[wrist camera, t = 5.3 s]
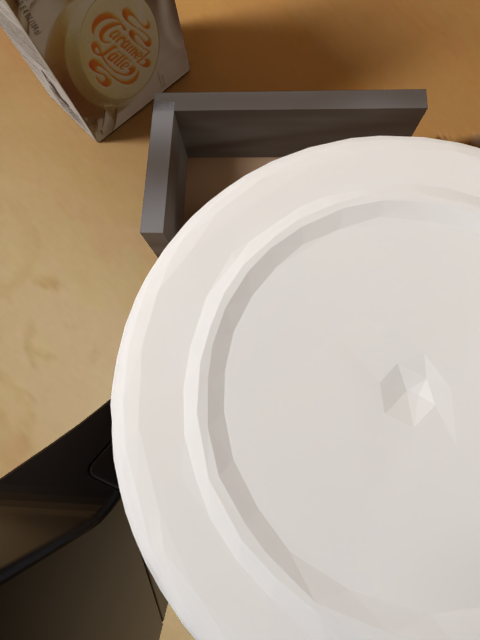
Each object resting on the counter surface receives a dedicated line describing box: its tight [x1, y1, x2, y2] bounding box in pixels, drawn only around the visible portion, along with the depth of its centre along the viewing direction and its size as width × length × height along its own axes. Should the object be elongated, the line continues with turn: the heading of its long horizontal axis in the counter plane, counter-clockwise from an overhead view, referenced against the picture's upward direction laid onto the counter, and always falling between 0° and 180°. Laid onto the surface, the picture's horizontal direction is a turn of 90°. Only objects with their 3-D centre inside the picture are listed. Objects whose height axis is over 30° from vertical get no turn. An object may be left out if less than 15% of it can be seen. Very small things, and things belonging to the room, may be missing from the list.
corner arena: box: [140, 89, 428, 258], centre depth 21 cm, size 13×15×5 cm
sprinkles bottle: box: [110, 136, 480, 640], centre depth 9 cm, size 5×5×14 cm
